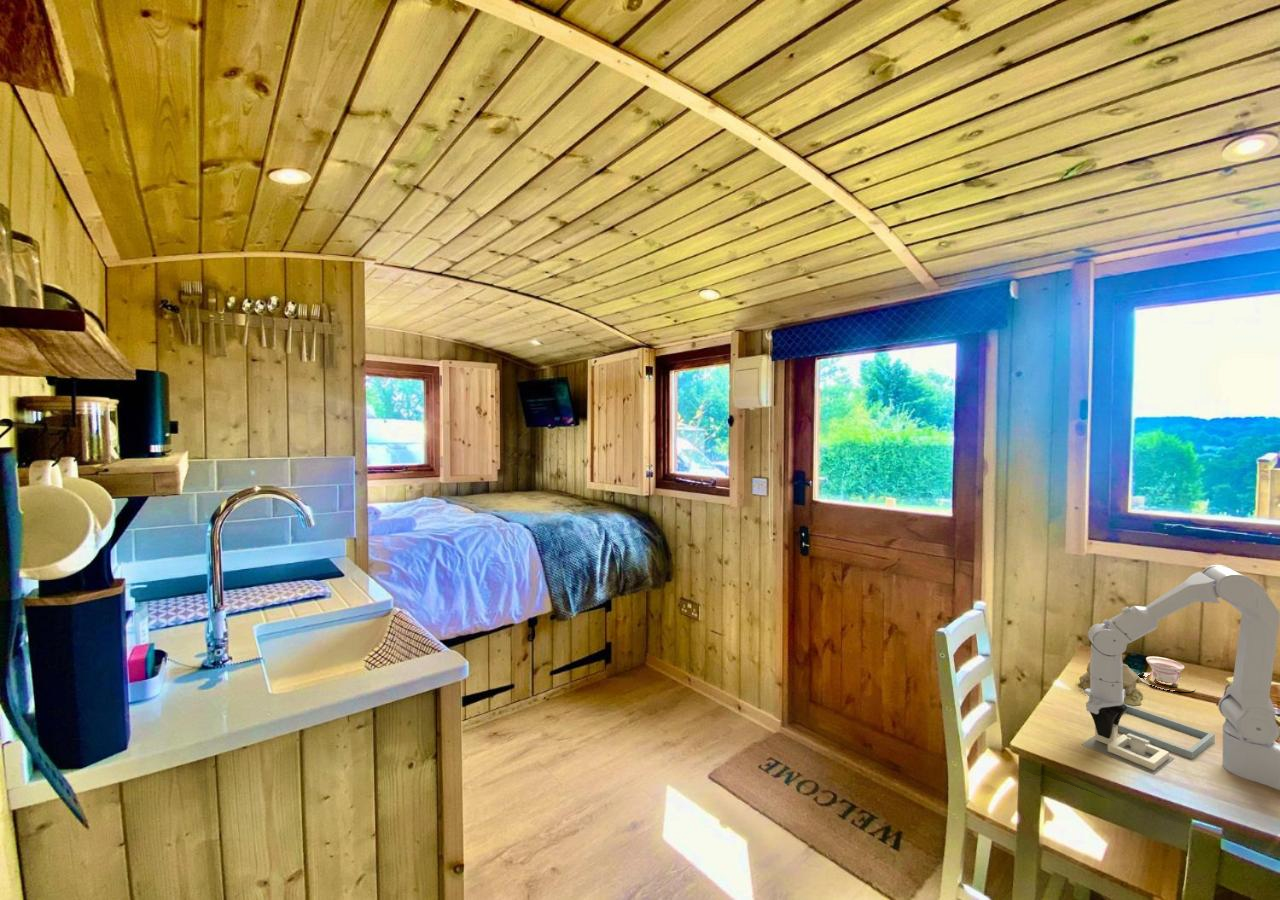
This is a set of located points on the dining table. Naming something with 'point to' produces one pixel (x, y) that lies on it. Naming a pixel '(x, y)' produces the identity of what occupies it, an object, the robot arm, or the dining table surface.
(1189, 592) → the robot arm
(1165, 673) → the teacup
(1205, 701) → the dining table surface
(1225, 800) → the dining table surface
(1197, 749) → the tray
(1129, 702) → the ceramic model
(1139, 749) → the plate
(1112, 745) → the square frame with tab
